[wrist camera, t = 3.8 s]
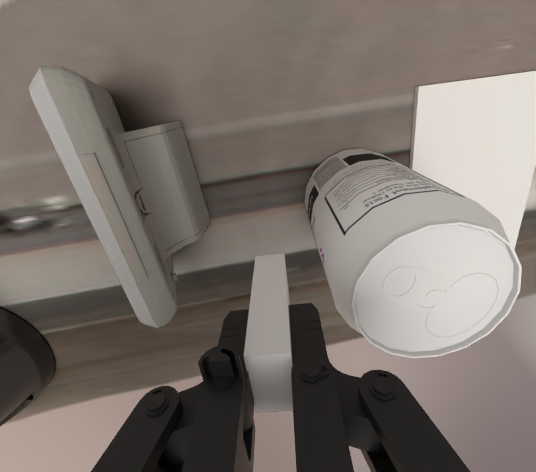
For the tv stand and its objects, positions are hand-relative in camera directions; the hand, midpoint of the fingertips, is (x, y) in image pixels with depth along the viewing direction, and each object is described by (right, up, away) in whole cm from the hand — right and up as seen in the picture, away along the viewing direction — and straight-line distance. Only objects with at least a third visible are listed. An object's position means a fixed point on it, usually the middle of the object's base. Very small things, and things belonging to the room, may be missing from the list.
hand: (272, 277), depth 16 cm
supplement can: (+7, +6, +11) cm, 14 cm away
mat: (+17, +7, +10) cm, 21 cm away
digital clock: (-11, +7, +11) cm, 17 cm away
